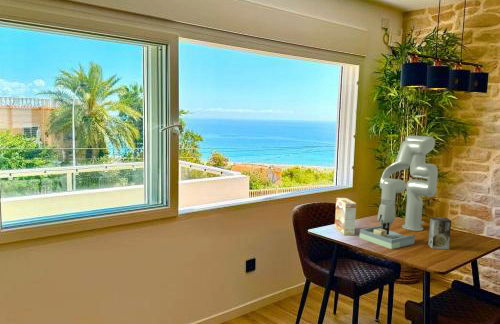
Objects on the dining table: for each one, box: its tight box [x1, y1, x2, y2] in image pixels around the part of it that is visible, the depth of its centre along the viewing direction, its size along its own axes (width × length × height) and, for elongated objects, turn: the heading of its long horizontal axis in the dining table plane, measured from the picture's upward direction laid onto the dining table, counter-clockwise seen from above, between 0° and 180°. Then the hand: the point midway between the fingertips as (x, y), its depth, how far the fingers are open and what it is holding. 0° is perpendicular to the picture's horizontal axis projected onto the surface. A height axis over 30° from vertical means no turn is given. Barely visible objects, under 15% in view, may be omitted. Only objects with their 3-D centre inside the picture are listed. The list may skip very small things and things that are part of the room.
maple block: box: [373, 228, 387, 237], centre depth 221 cm, size 5×5×4 cm
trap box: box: [359, 225, 416, 250], centre depth 225 cm, size 20×22×5 cm
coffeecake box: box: [334, 197, 357, 236], centre depth 239 cm, size 15×7×20 cm, turn 9°
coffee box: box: [427, 216, 452, 250], centre depth 216 cm, size 9×6×16 cm
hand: (385, 233), depth 224 cm, fingers closed
